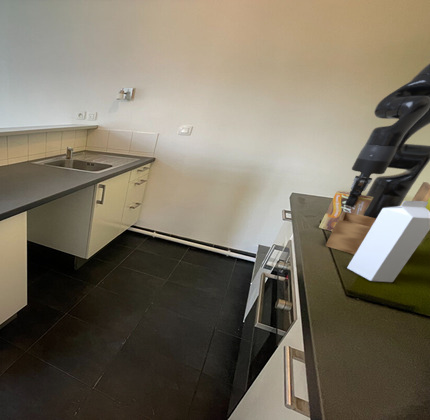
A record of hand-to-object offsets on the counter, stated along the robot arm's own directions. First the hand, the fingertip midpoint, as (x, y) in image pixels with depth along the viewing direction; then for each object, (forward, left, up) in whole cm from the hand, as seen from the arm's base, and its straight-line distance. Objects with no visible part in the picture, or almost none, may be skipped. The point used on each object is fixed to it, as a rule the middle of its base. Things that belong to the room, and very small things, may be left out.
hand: (349, 204), depth 91 cm
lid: (+14, +11, +6) cm, 19 cm away
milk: (+35, +9, -11) cm, 38 cm away
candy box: (0, 0, -11) cm, 11 cm away
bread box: (+14, +5, -11) cm, 19 cm away
